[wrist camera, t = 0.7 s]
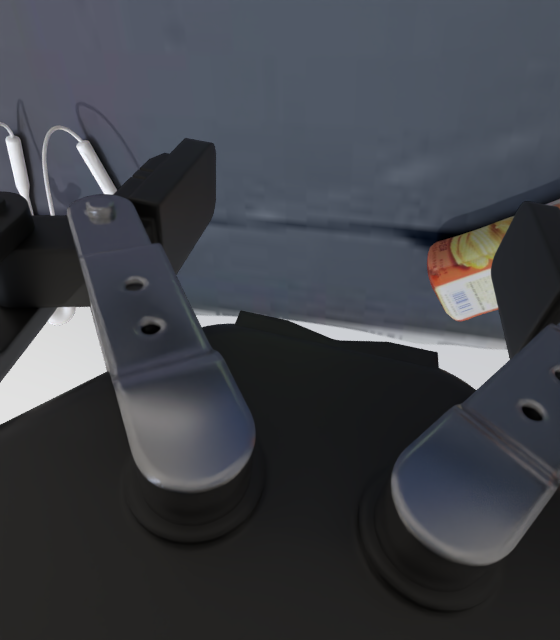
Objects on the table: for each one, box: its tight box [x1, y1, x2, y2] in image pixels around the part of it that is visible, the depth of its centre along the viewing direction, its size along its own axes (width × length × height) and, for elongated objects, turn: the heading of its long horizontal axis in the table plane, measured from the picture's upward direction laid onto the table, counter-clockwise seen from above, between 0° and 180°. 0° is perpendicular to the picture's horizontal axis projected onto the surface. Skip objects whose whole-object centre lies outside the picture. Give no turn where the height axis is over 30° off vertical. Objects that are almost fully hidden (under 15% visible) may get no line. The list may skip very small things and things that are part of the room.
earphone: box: [0, 122, 117, 325], centre depth 48 cm, size 14×17×18 cm
